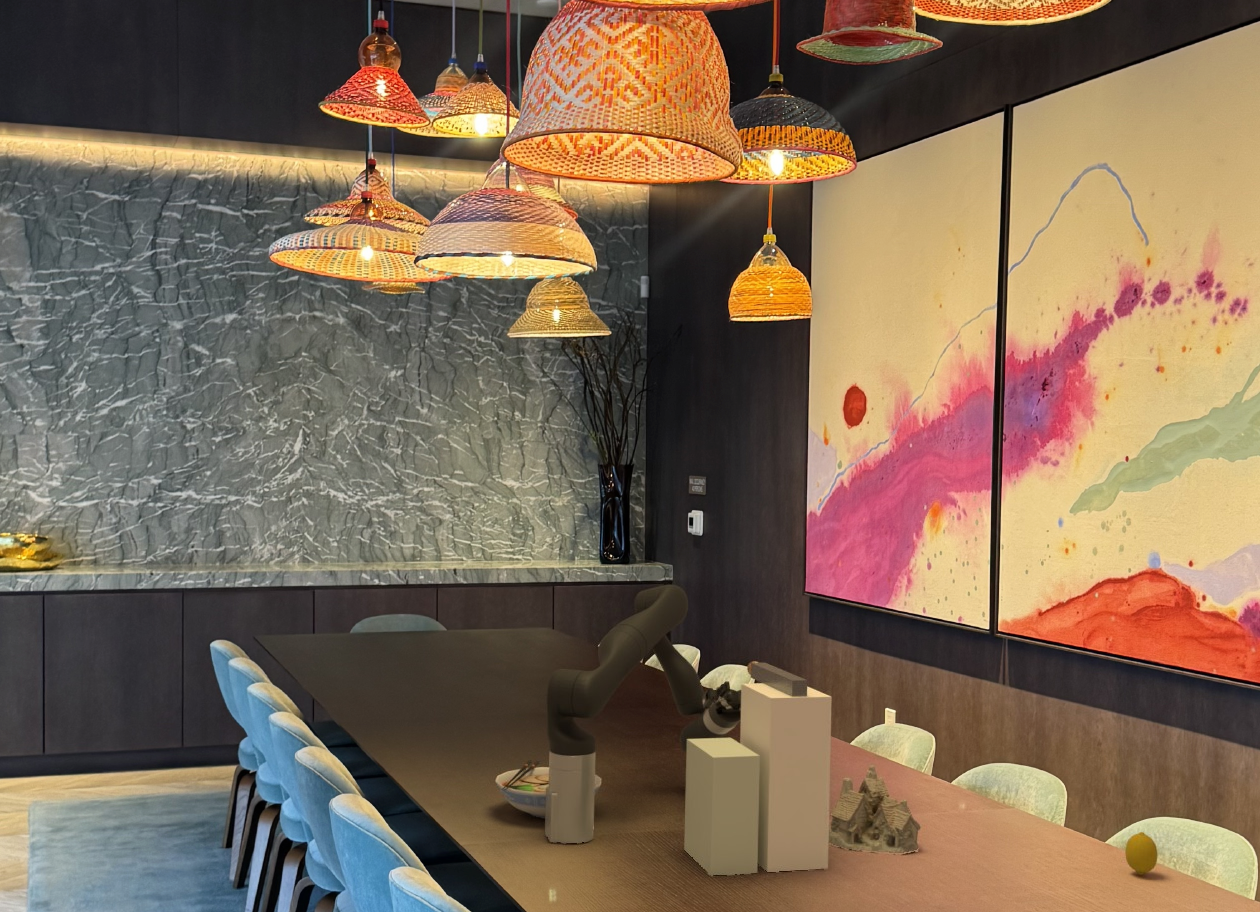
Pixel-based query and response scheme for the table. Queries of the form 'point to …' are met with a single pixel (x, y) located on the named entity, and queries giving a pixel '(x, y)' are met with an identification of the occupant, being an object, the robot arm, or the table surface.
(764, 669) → the rod
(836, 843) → the ceramic cottage
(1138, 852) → the lemon
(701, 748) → the beige rectangular block
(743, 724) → the white stand
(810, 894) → the table surface
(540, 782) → the ramen bowl
